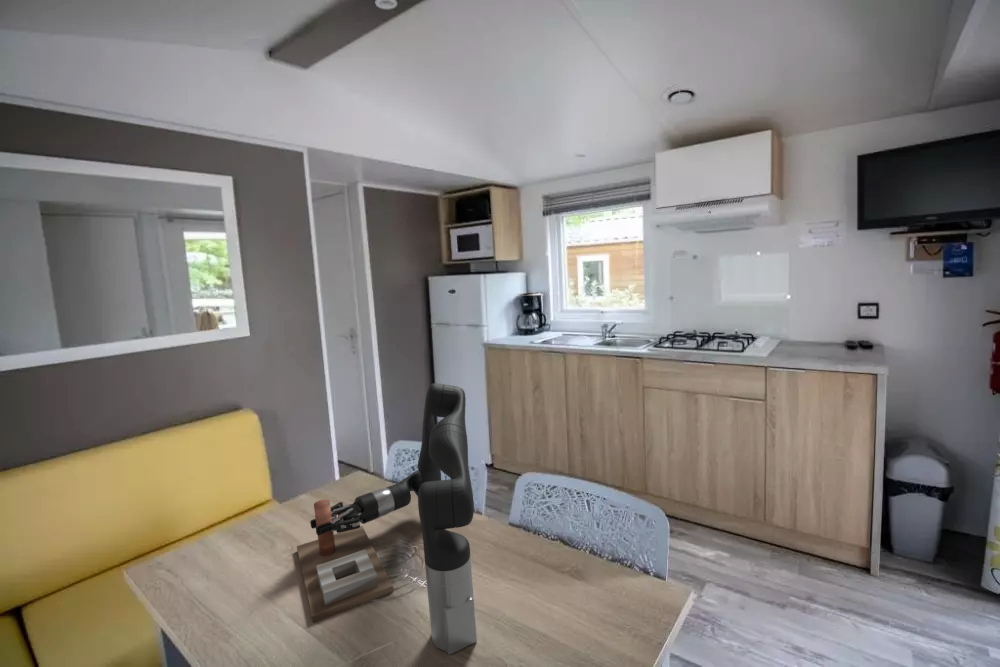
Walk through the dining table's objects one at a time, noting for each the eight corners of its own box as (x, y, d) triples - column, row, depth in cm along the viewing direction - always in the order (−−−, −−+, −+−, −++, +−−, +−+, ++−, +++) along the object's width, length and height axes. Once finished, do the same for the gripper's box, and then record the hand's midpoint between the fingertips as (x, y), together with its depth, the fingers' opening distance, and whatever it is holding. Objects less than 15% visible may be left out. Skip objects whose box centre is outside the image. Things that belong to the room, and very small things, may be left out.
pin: (336, 552, 126) (330, 503, 124) (321, 557, 124) (314, 508, 123) (334, 545, 130) (328, 497, 128) (318, 550, 128) (312, 502, 126)
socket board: (393, 591, 112) (391, 574, 111) (313, 622, 103) (310, 603, 102) (362, 530, 139) (361, 516, 139) (297, 551, 131) (295, 536, 130)
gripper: (363, 484, 140) (303, 505, 129) (384, 501, 129) (320, 525, 118) (365, 508, 141) (306, 530, 130) (386, 526, 130) (324, 552, 119)
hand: (314, 528), depth 124 cm, fingers closed on pin, 4 cm apart
